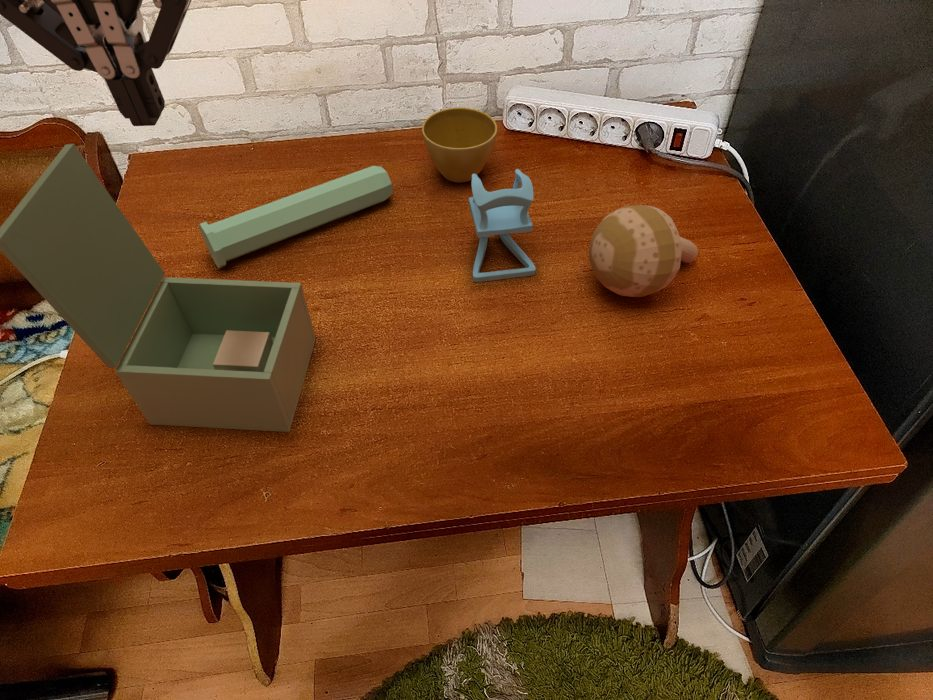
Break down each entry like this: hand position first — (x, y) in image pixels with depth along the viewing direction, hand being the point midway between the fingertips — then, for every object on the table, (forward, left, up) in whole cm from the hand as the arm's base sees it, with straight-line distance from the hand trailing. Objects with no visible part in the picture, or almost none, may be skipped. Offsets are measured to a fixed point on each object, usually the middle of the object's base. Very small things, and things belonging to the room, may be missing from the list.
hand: (148, 120), depth 50 cm
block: (0, 0, -30) cm, 30 cm away
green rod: (+22, +12, -31) cm, 40 cm away
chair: (+31, -12, -31) cm, 45 cm away
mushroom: (+37, -29, -31) cm, 56 cm away
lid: (-5, +9, -14) cm, 17 cm away
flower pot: (+43, +2, -31) cm, 53 cm away
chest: (-1, +1, -31) cm, 31 cm away
